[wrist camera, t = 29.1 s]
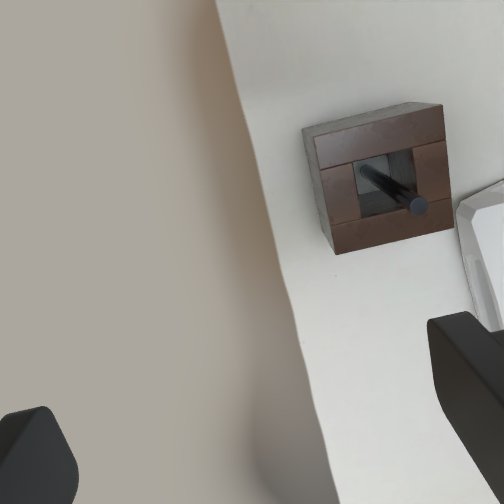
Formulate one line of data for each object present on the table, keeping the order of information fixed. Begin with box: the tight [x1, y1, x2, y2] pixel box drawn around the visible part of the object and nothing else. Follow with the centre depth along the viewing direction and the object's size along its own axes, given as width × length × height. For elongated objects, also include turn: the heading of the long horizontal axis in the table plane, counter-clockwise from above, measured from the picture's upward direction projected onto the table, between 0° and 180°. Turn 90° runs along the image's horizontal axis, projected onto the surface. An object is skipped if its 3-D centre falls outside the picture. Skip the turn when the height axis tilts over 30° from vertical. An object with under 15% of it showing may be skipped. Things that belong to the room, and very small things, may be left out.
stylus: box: [360, 165, 429, 215], centre depth 35 cm, size 1×1×14 cm
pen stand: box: [302, 102, 454, 255], centre depth 39 cm, size 10×10×7 cm
